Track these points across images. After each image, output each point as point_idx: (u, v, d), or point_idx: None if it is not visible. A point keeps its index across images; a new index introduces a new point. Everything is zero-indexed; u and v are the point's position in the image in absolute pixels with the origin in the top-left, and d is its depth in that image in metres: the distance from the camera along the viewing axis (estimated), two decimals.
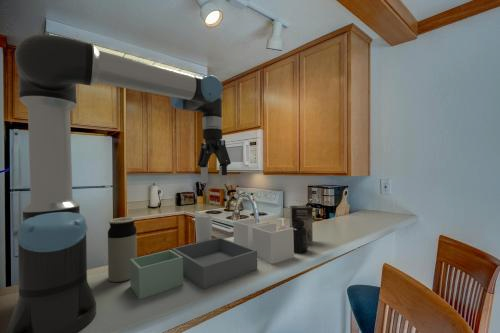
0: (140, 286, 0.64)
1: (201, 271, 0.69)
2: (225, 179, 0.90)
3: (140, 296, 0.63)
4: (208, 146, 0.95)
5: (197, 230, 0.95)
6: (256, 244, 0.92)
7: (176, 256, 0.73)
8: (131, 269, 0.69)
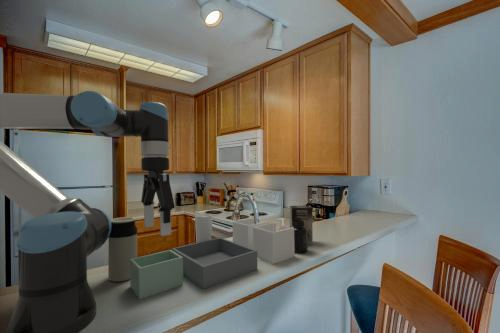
0: (140, 286, 0.64)
1: (201, 271, 0.69)
2: (169, 227, 0.66)
3: (140, 296, 0.63)
4: (149, 180, 0.71)
5: (197, 230, 0.95)
6: (257, 244, 0.92)
7: (176, 256, 0.73)
8: (131, 269, 0.69)
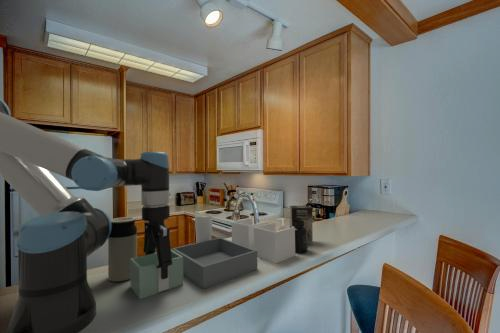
0: (140, 285, 0.64)
1: (201, 271, 0.69)
2: (166, 282, 0.67)
3: (140, 295, 0.63)
4: (150, 228, 0.70)
5: (197, 230, 0.95)
6: (258, 244, 0.92)
7: (176, 255, 0.73)
8: (131, 268, 0.69)
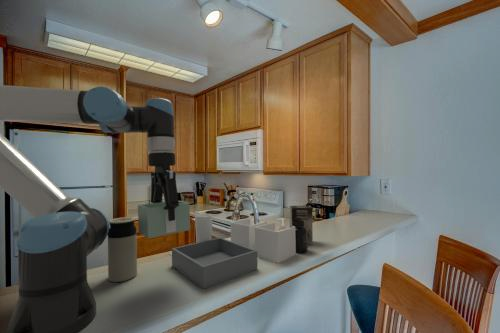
0: (148, 225, 0.65)
1: (201, 271, 0.69)
2: (174, 225, 0.69)
3: (148, 235, 0.65)
4: (156, 175, 0.72)
5: (197, 230, 0.95)
6: (259, 244, 0.92)
7: None
8: (139, 214, 0.71)
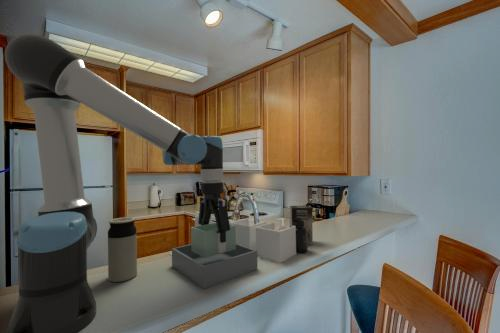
0: (205, 247, 0.76)
1: (201, 271, 0.69)
2: (224, 246, 0.80)
3: (205, 255, 0.76)
4: (207, 201, 0.83)
5: None
6: (260, 244, 0.92)
7: None
8: (193, 235, 0.81)
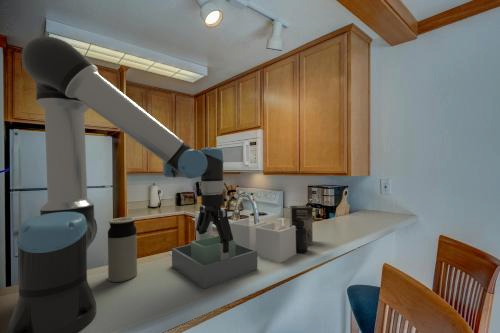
0: (205, 262, 0.76)
1: (201, 271, 0.69)
2: (227, 256, 0.78)
3: None
4: (207, 213, 0.83)
5: None
6: (260, 244, 0.92)
7: None
8: (192, 250, 0.81)
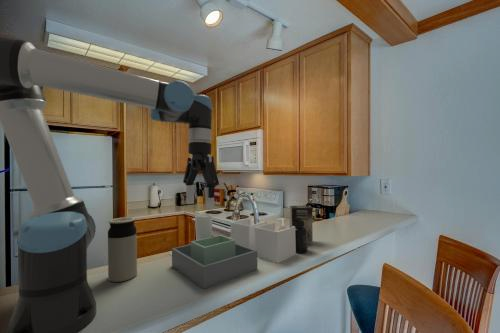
0: (205, 262, 0.76)
1: (201, 271, 0.69)
2: (212, 202, 0.77)
3: None
4: (194, 162, 0.82)
5: (197, 230, 0.95)
6: (259, 244, 0.92)
7: (228, 239, 0.85)
8: (192, 250, 0.81)
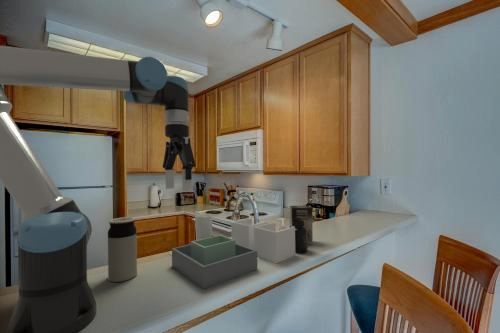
0: (205, 262, 0.76)
1: (201, 271, 0.69)
2: (190, 184, 0.76)
3: None
4: (172, 145, 0.80)
5: (197, 230, 0.95)
6: (258, 244, 0.92)
7: (228, 239, 0.85)
8: (192, 250, 0.81)
